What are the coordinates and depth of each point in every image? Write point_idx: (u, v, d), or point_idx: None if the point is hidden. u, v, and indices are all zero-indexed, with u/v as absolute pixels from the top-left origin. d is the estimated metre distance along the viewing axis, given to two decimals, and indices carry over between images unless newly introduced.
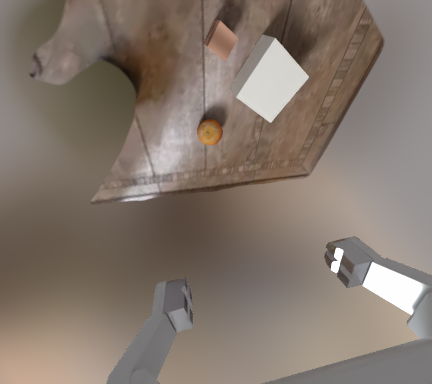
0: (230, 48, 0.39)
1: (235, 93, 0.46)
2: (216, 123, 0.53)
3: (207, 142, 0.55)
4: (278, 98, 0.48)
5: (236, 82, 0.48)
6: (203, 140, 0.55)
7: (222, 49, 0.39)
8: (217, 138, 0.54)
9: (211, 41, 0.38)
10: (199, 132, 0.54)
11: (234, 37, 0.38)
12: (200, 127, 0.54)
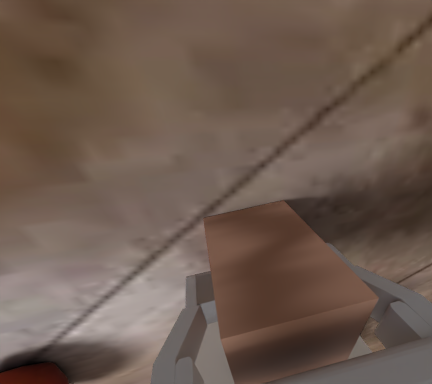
0: (297, 372, 0.07)
1: None
2: None
3: None
4: None
5: (213, 355, 0.13)
6: None
7: (269, 366, 0.07)
8: None
9: (261, 330, 0.05)
10: None
11: (341, 356, 0.07)
12: None
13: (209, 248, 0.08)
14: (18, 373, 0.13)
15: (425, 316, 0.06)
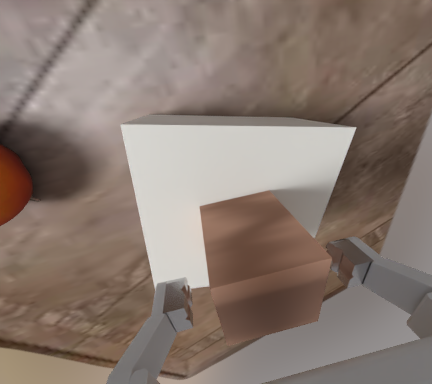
0: (276, 328, 0.09)
1: (137, 121, 0.10)
2: None
3: None
4: None
5: (173, 117, 0.14)
6: None
7: (251, 319, 0.08)
8: None
9: (241, 283, 0.07)
10: None
11: (312, 315, 0.09)
12: None
13: (203, 229, 0.10)
14: None
15: None
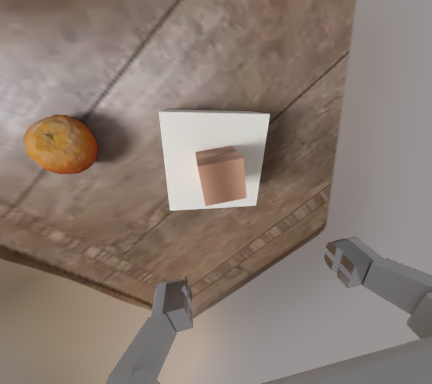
0: (227, 198, 0.20)
1: None
2: (87, 139, 0.23)
3: (32, 153, 0.22)
4: None
5: (180, 110, 0.26)
6: (27, 142, 0.22)
7: (215, 189, 0.20)
8: (62, 164, 0.23)
9: (209, 165, 0.18)
10: (36, 123, 0.22)
11: (243, 192, 0.20)
12: (47, 118, 0.22)
13: (196, 156, 0.21)
14: None
15: None
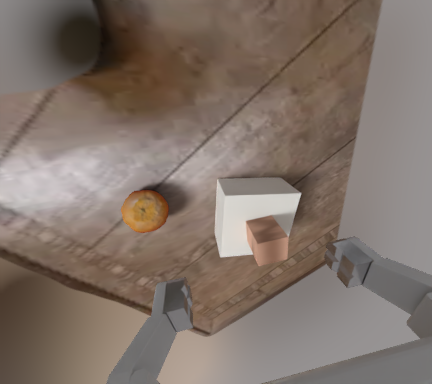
0: (273, 260, 0.29)
1: (225, 191, 0.30)
2: (165, 208, 0.31)
3: (129, 222, 0.30)
4: None
5: (231, 182, 0.34)
6: (126, 214, 0.30)
7: (266, 255, 0.28)
8: (149, 228, 0.31)
9: (265, 242, 0.27)
10: (131, 199, 0.30)
11: (285, 256, 0.29)
12: (139, 194, 0.30)
13: (250, 229, 0.30)
14: None
15: None
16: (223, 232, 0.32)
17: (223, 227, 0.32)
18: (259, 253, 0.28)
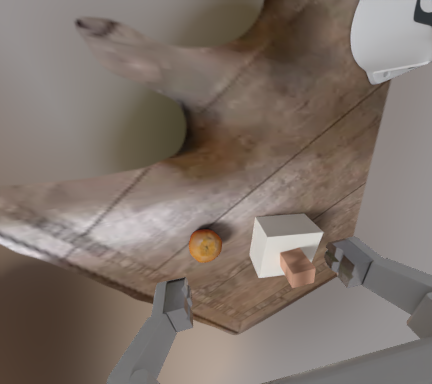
0: (303, 283, 0.39)
1: (266, 232, 0.40)
2: (220, 244, 0.42)
3: (196, 256, 0.40)
4: None
5: (267, 221, 0.44)
6: (194, 250, 0.40)
7: (299, 281, 0.38)
8: (209, 260, 0.41)
9: (298, 273, 0.37)
10: (197, 239, 0.41)
11: (312, 280, 0.39)
12: (202, 235, 0.41)
13: (285, 260, 0.40)
14: (206, 229, 0.44)
15: None
16: (263, 261, 0.43)
17: (263, 257, 0.42)
18: (293, 280, 0.38)
